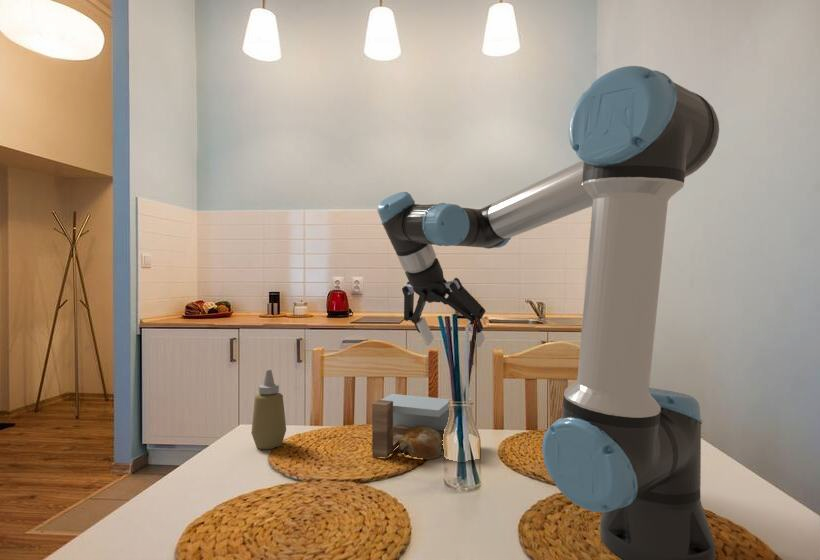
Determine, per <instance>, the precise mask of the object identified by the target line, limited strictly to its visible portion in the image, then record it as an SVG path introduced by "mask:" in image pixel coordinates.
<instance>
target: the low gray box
mask: <svg viewBox="0 0 820 560" xmlns="http://www.w3.org/2000/svg"><path fill="white" fill-rule="evenodd" d="M380 400H386V401H393V427H394V426H395V425H399V426H407V427H416V426H430V427H432V428H433V429H435V430H440V431H444V429H445V427H446V425H447V422H448V417H449V406H448V401H449V400H450V398H449V399H448V398H439V397H432V396H431V397H430V396H420V395H409V394H408V395H407V394H406V395H405V394H399V393H398V394H397V393H391V394H388V395H387V396H385V397H383V398H381V399H380Z"/></svg>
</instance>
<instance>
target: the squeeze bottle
mask: <svg viewBox="0 0 820 560" xmlns="http://www.w3.org/2000/svg"><path fill="white" fill-rule="evenodd" d="M286 432H287V423H286V414H285V403H284V395H283V394H282V393H280V384H278V383H275V380H274V375H273V372H272V369H266V370H265V375H264V380H263V383H262V384H259V386H258V394H257V395H256V396H255V397H254V404H253V414H252V423H251V436H252V438H253V441H254V444H255V447H256V448H257V449H259V450H272V449H276V448H275V447H277V448H279V447H281V446H282V444H283V441H284V439H285V435H286ZM280 445H281V446H280ZM278 446H279V447H278Z"/></svg>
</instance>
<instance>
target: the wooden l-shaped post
mask: <svg viewBox="0 0 820 560" xmlns="http://www.w3.org/2000/svg"><path fill="white" fill-rule="evenodd" d="M371 403H372V404H371V409H372V411H371V413H372V414H371V415H372V416H371V418H372V419H371V425H372V426H371V428H372V429H371V430H372V431H371V434H372V435H371V437H372V440H371V442H372V443H371V447H372V450H371V451H372V455H371V456H372V457H385V458H387V457H388V456H389V455H390V454H392V453H393V454H394V452H393V450H394V449H395V448H396V447H397V446H398V445H399V439H401V438H402V437H403V435H404V434H405V433H406V432H407V431H408V430H409V429H411V428H414V427H407V426H399V425H395V426H394V427H393V401H386V400H381V399H378V400H376V401H374V402H371ZM437 431H438V432H439V434H440V435H441V437H442V440H443V434H444V431H440V430H437Z"/></svg>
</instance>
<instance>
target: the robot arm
mask: <svg viewBox="0 0 820 560" xmlns="http://www.w3.org/2000/svg"><path fill="white" fill-rule="evenodd" d="M719 135H720V121H719V118H718V115H717V113H716V111H715V109H714V107H713V106H712V104H711V103H710V102H709V101H708V100H707V99H705V98H704V97H703V96H702V95H700V94H698V93H696V92H694V91H692V90H689V89H688V88H685V87H684V86H682V85H680V84H678V83H677V82H674V81H673V80H672V79H671V78H670V77H669V75H668V74H665V72H661V71H659V70H655V69H654V70H652V69H650V68H647V67H644V66H639V65H628V66H627V65H626V66H622V67H617V68H615V69H613V70H610V71H608V72H607V73H604V74H603V75H602V76H599V77H598V78H597V79H595V80H594V81H593V82H592V83H591V85H590V87H589V88H588V89H586V91H584V92H583V93H582V94H581V95H580V97H579V98H578V100H577V101H576V104H575V106H574V107H573V110H572V112H571V115H570V119H569V123H568V139H569V144H570V146H571V148H572V150H573V151H574V152H575V153H576V155H577V157H578V158H579V159H580V161H578V162H576V163H574V164H572V165H569V166H568V167H565V168H564V169H561V170H560V171H557V172H554V173H553V174H551V175H549V176H547V177H545V178H543V179H541V180H538V181H537V182H535V183H533V184H530V185H528V186H526V187H523V188H522V189H520V190H517V191H515V192H514V193H512V194H510V195H507V196H505V197H503V198H501V199H500V200H498V201H496V202H493V203H490V204H489V205H487V206H484V207H482V208H478V209H477V208H469V207H461V205H458V204H455V203H445V202H442V203H441V202H439V203H435V204H418V203H417V204H416V203H415V199H414V198H413V197H412V194H410V193H409V192H408V191H402V192H397V193H394V194H392V195H389V196H387V197H386V198H385V199H383V200H381V201H380V202H379V203H378V205H377V207H376V208H377V209H376V210H377V214H378V215H379V218H380V221H381V225H382V226H383V228H384V230H385V232H386V235H387V236H388V239H389V241H390V244H391V246H392V248H393V249H394V251H395V253H396V256H397V259H398V261H399V263H400V265H401V268H402V269H403V271H404V274H405V275H406V278H407V282H406V283H405V284H404V285H403V286H402V289H401V290H402V294H403V319H404V320H405V322H408V321H410V322H411V323H412V324H414V326H415V328H416V331H417V333H419V334H421V337H422V340H423V342H424V344H425V345H426V346H428V347H429V346H430V345H431V343H432V342H433V341H434V340H435V338H434V336H433V335H434V334H433V333H432V331H431V328H430V326H429V324H428V322H427V320H426V317H425V316H422V315H423V314H422V313H423V311H424V307H425V305H426V303H428V304H429V303H430V304H431V303H442V304H443V305H448V306H449V307H450V308H451V309H453V310H455V311H456V312H457V313H458V314H460V315H461V316H463V317H464V318H465V319H467V320H468V322H467V326H468V328H469V327H470V328H469V330H470V333H471V334H472V336H473V324H474V320H475V317H478V325H477V335H476V342H475V345H476V347H482V344H483V343H484V341H485V339H486V337H485V335H484V333H483V329H484V327H483V323H482V321H481V319H483V316H484V315H485V313H486V309H485V308H484V307H483V306H482V305H481V304H480V303H479V302H478V301H477V299H475V298H474V296H473V295H472V294H470V292H469V291H468V290H467V289H466V288H465V286H463V284H462V283H461V281H460V279H459V278H458V277H454V279H453V280H450V281H447V280H446V279H445V277H444V271H443V268H442V266H441V264H440V261H439V259H438V258H437V254H436V252H435V249H434V247H433V245H435V246H440V247H443V246H444V247H451V246H452V247H455V246H457V247H469V248H483V249H497V248H503V247H504V246H506V245H507V244H508V243H509V241H510V240H512V238H513V237H516V236H518V235H520V234H521V235H522V234H523V233H526V232H528V231H531V230H534V229H537V228H539V227H542V226H544V225H547V224H549V223H552V222H554V221H557V220H559V219H562V218H564V217H568V216H569V215H574V214H575V213H577V212H581V211H583V210H585V209H589V208H590V207H592V208H591V217H590V218H591V221H590V228H589V229H590V230H589V242H588V250H587V252H588V253H587V254H588V255H587V263H586V265H587V266H586V277H585V286H584V288H585V290H584V300H583V310H582V321H581V322H582V323H581V333H580V343H579V344H580V346H579V357H578V368H577V379H576V381H574V382H573V383H572V384H571V385H569V386H568V387H566V388H565V390H564V391H563V401H562V408H561V409H562V411H561V418H558V419H556V420H555V421H554V422H553V423H552V424H551V425H550V426H549V427H548V428H547V429H546V431H545V433H544V436H543V439H542V444H541V445H542V446H541V447H542V448H541V449H542V451H541V452H542V453H541V454H542V458H543V462H544V466H545V469H546V472H547V473H548V475H549V478H551V479H552V480H553V482H554V483H555V485H556V488H557V489H558V490H559V491H560V493H561V494H562V495H564V497H565V498H567V499H568V500H569V501H570V502H572V503H573V504H574V505H576V506H578V507H580V508H581V509H584V510H586V511H589V512H593V513H602V514H601V517H600V522H599V523H600V524H599V526H600V529H599V531H600V532H599V533H600V534H599V536H600V538H601V541H602V542H603V545H605V547H606V548H607V549H608V550H609V551H610V552H611V553H613V554H614V555H616V556H617V557H618V558H620V559H622V560H716V542H715V540H714V537H713V533H712V530H711V527H710V524H709V521H708V519H707V516H706V513H705V510H704V507H703V505H702V501H701V497H702V496H701V485H702V484H701V483H702V482H701V479H702V478H701V477H702V476H701V473H702V472H701V471H702V470H701V469H702V468H701V467H702V465H701V462H702V461H701V459H702V458H701V457H702V453H701V452H702V449H701V448H702V447H701V446H702V442H701V441H702V432H701V431H702V424H703V420H702V418H701V409H700V408H701V406H700V403H699V401H698V400H697V399H696V398H695V397H693V396H691V395H689V394H685V393H681V392H678V391H671V390H666V389H662V388H661V389H660V388H654V387H650V382H651V381H650V380H651V371H652V361H653V352H654V351H653V350H654V340H655V332H656V323H657V313H658V311H657V310H658V303H659V293H660V292H659V291H660V282H661V273H662V263H663V253H664V243H665V233H666V224H667V223H666V222H667V215H668V214H667V212H668V204H669V200H670V199H672V197H673V196H674V195H676V194H677V193H678V192H679V191H680V190H681V189H683V188H684V185H685V179H686V178H687V177H688V176H690V175H693V174H694V173H695V172H696V171H699V169H700V168H701V167H703V166H704V165H705V164H706V163H707V162H708V161H709V159H710V157H711V156H712V155H713V153H714V151H715V148H716V146H717V144H718V141H719ZM415 294H416V295H418V299H417V304H416V306H414V304H415V303H414V301H415ZM446 296H447V297H446ZM414 307H415V308H414Z"/></svg>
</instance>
